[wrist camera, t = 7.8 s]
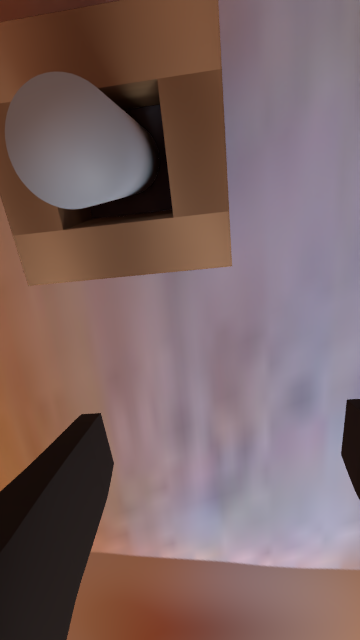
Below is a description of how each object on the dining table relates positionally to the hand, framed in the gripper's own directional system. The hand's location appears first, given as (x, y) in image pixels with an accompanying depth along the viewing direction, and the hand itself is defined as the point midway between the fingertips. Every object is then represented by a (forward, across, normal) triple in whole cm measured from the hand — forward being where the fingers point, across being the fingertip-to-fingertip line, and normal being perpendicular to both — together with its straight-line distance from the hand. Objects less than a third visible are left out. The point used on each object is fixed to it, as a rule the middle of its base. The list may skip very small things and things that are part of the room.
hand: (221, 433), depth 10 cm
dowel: (+10, +4, -8) cm, 13 cm away
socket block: (+10, +4, -8) cm, 13 cm away
